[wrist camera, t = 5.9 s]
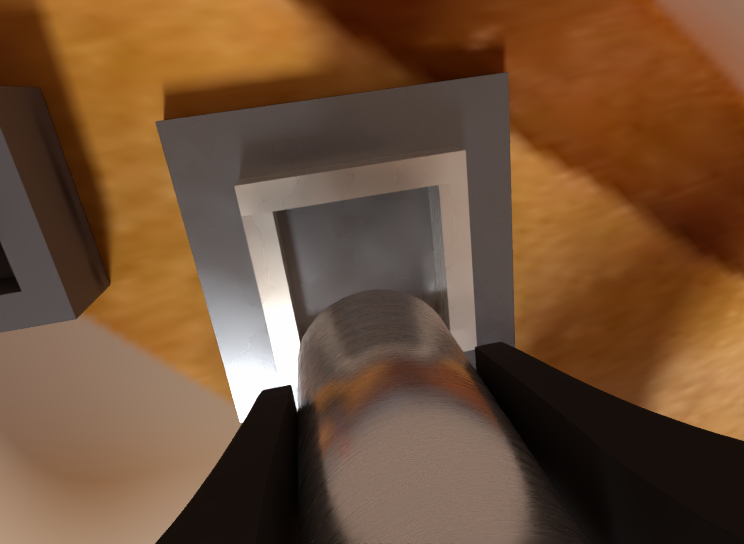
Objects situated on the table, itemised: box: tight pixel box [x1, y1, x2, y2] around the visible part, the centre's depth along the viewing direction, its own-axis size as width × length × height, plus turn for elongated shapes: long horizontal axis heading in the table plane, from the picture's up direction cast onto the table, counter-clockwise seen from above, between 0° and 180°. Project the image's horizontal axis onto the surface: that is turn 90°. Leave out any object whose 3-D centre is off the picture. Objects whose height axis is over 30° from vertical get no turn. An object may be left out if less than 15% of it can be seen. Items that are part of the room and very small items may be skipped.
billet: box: [297, 289, 592, 544], centre depth 9 cm, size 4×4×7 cm
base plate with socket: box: [156, 72, 515, 422], centre depth 18 cm, size 12×12×2 cm
